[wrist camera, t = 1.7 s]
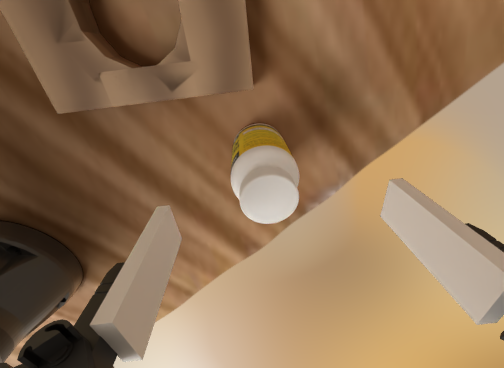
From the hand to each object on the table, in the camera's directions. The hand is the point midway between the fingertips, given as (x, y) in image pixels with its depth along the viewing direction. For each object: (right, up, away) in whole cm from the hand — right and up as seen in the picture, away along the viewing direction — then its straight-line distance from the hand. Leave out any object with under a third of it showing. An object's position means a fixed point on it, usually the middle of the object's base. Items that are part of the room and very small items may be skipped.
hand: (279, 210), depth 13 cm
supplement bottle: (-1, +6, +10) cm, 11 cm away
